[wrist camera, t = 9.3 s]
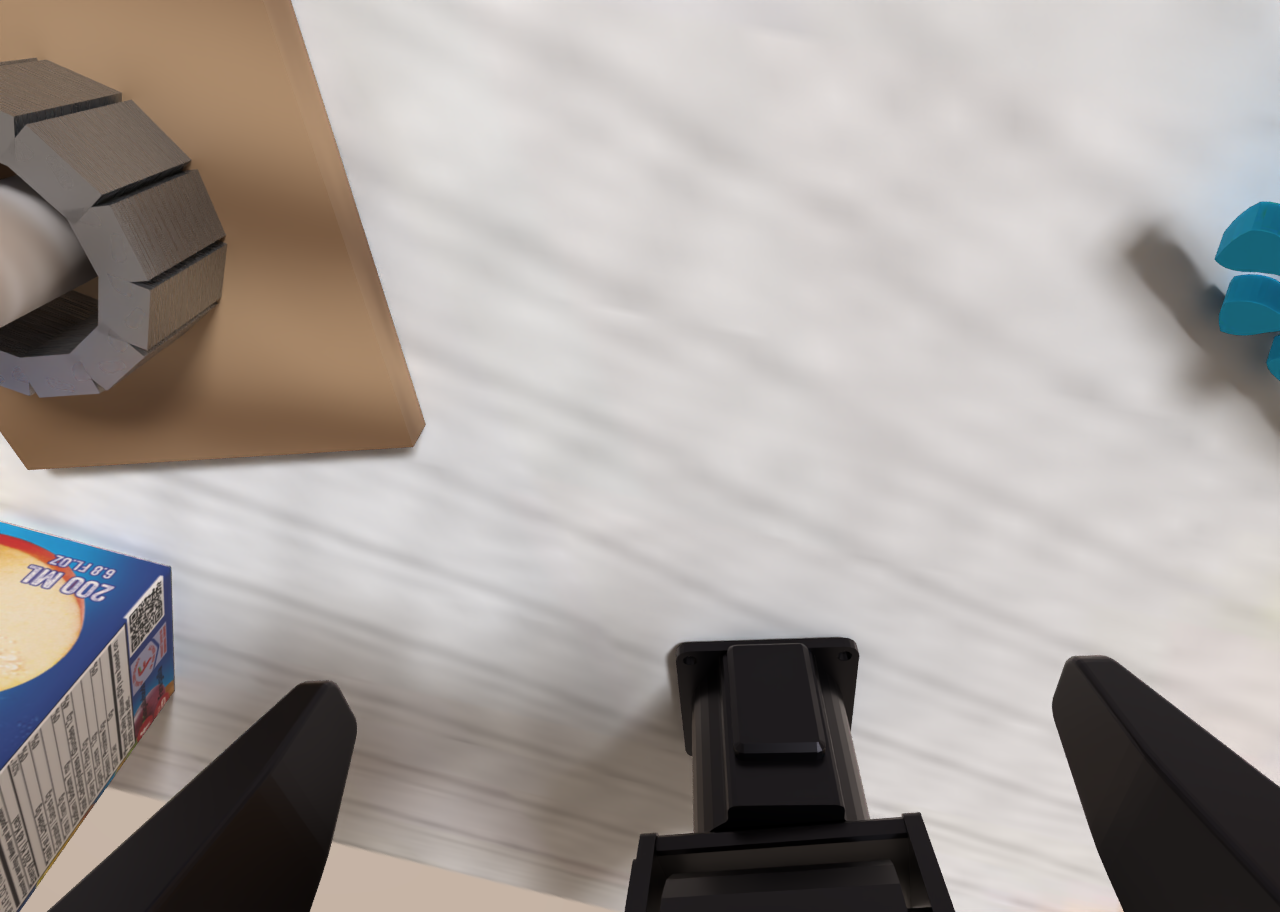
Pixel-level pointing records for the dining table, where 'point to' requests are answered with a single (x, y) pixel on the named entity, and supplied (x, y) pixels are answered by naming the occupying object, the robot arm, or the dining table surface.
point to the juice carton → (71, 687)
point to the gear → (1253, 276)
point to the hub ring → (105, 231)
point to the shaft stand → (255, 235)
